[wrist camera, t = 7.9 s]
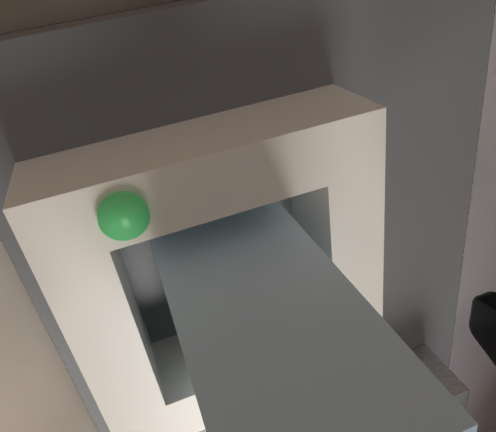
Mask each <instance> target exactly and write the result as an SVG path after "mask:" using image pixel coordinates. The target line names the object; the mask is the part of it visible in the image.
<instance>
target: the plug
mask: <svg viewBox="0 0 496 432" xmlns="http://www.w3.org/2000/svg"><path fill="white" fill-rule="evenodd" d="M149 241H150V244H151V248H152V251H153V254H154V258H155V261H156V265H157V268H158V271H159V275H160V278H161V281H162V285H163V288H164V291H165V295H166V298H167V301H168V305H169V308H170V312H171V315H172V318H173V322H174V325H175V328H176V332H177V335H178V338H179V342H180V345H181V349H182V352H183V355H184V359H185V362H186V365H187V369H188V372H189V375H190V379H191V382H192V386H193V389H194V392H195V396H196V399H197V402H198V406H199V409H200V412H201V416H202V419H203V422H204V426H205V429H206V432H477V427H478V424H477V422H476V421H475V420H474V419H473V418H472V417H471V416H470V415H469V413H468V412H467V411H466V410H465V409H464V408H463V407H462V406H461V405H460V403H459V402H458V401H457V400H456V399H455V398H454V397H453V396H452V395H451V393H450V392H449V391H448V390H447V389H446V388H445V387H444V386H443V384H442V383H441V382H440V381H439V380H438V379H437V378H436V377H435V376H434V374H433V373H432V372H431V371H430V370H429V369H428V368H427V367H426V366H425V364H424V363H423V362H422V361H421V360H420V359H419V358H418V357H417V355H416V354H415V353H414V352H413V351H412V350H411V349H410V348H409V347H408V345H407V344H406V343H405V342H404V341H403V340H402V339H401V338H400V336H399V335H398V334H397V333H396V332H395V331H394V330H393V329H392V328H391V326H390V325H389V324H388V323H387V322H386V321H385V320H384V319H383V318H382V316H381V315H380V314H379V313H378V312H377V311H376V310H375V309H374V307H373V306H372V305H371V304H370V303H369V302H368V301H367V300H366V299H365V297H364V296H363V295H362V294H361V293H360V292H359V291H358V290H357V289H356V287H355V286H354V285H353V284H352V283H351V282H350V281H349V280H348V278H347V277H346V276H345V275H344V274H343V273H342V272H341V271H340V270H339V268H338V267H337V266H336V265H335V264H334V263H333V262H332V261H331V260H330V258H329V257H328V256H327V255H326V254H325V253H324V252H323V251H322V249H321V248H320V247H319V246H318V245H317V244H316V243H315V242H314V241H313V239H312V238H311V237H310V236H309V235H308V234H307V233H306V232H305V231H304V229H303V228H302V227H301V226H300V225H299V224H298V223H297V222H296V220H295V219H294V218H293V217H292V216H291V215H290V214H289V213H288V212H287V210H286V209H285V208H284V207H283V206H282V205H281V204H280V203H279V202H278V201H277V202H274V203H270V204H267V205H264V206H260V207H257V208H254V209H250V210H247V211H244V212H240V213H237V214H234V215H231V216H227V217H224V218H221V219H217V220H214V221H211V222H207V223H204V224H201V225H197V226H194V227H191V228H187V229H184V230H181V231H177V232H174V233H171V234H167V235H164V236H161V237H157V238H154V239H151V240H149Z"/></svg>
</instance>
